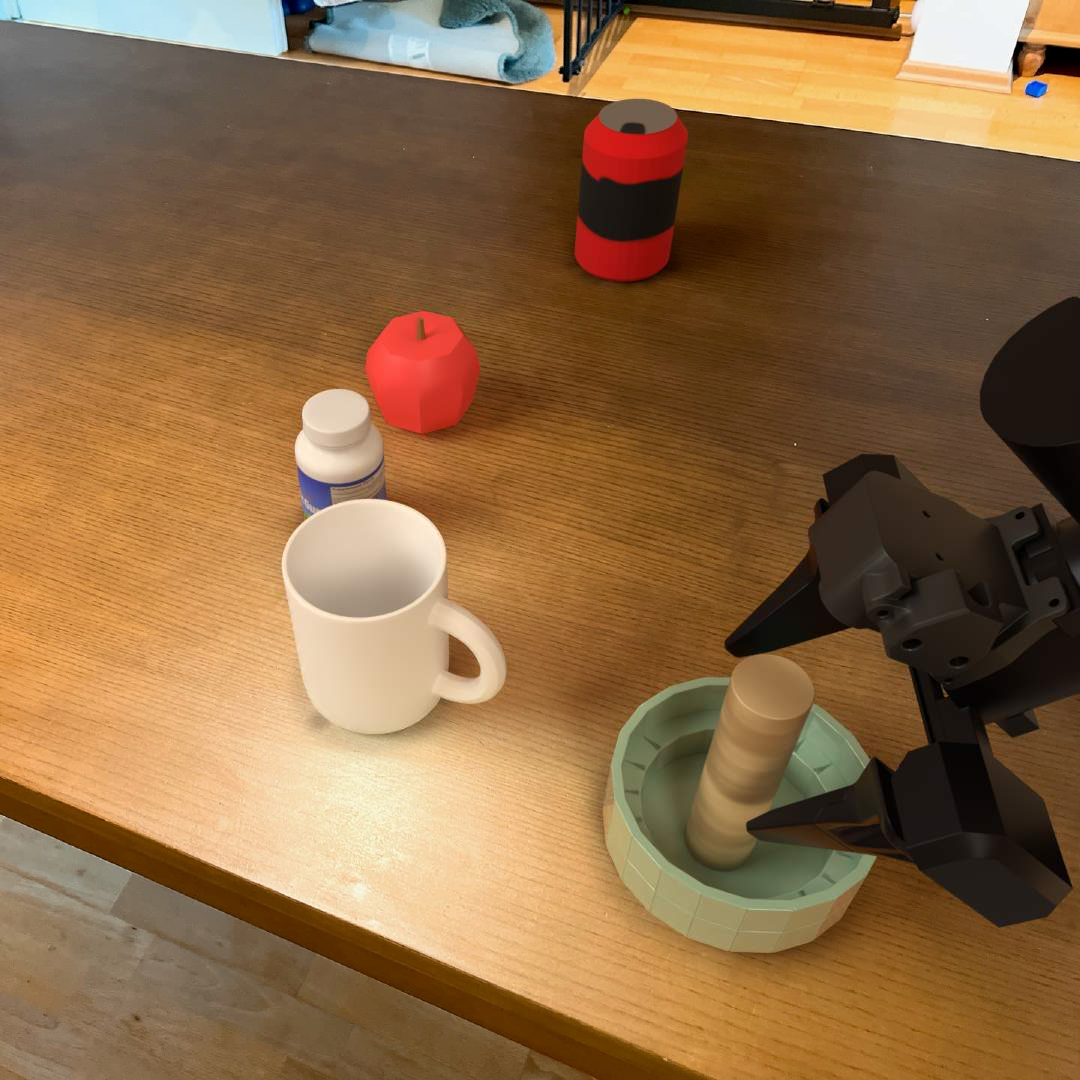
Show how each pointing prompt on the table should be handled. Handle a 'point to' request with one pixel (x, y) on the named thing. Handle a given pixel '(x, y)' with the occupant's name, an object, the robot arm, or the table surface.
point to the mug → (380, 618)
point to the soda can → (629, 189)
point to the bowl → (773, 868)
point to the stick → (747, 757)
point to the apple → (422, 372)
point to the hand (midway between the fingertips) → (740, 735)
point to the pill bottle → (338, 452)
